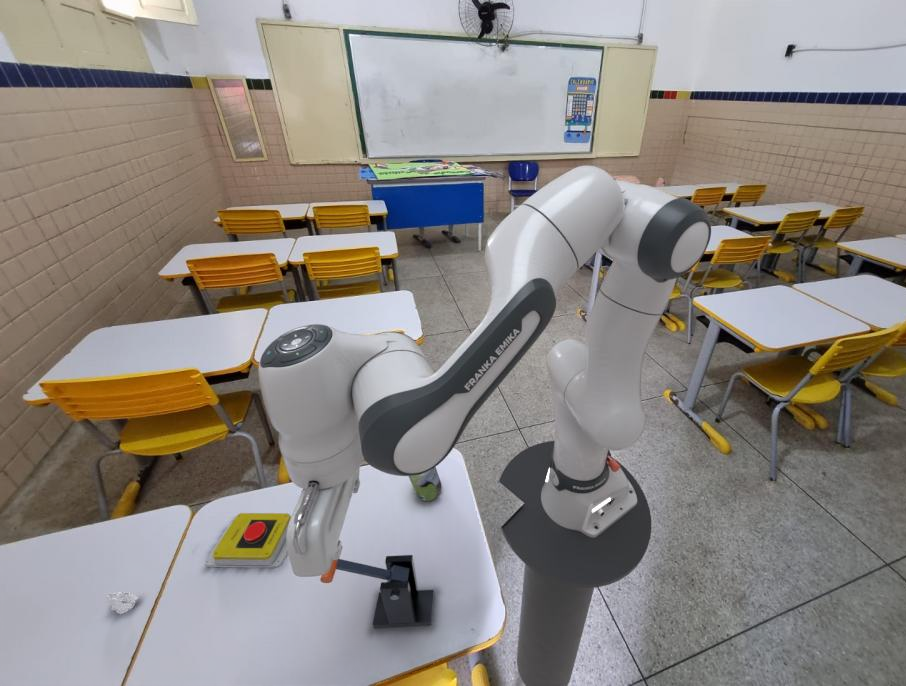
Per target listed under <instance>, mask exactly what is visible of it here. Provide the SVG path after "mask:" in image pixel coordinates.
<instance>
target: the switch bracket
mask: <svg viewBox="0 0 906 686" xmlns="http://www.w3.org/2000/svg"><path fill="white" fill-rule="evenodd" d="M384 563H385V567H386V568H385V569H387V570H391V568H392V567H393V565H396V566H401V567H405V568H409V575H408V581H400V582H387V581H381V582H380V586H379V591H380V592H378V594H377V600H376V604H375V610H374V614H373V615H374V616H373V620H372V628H373V629H383V628H402V627H421V626H432V623H433V622H432V621H433V612H434V600H435V590H434V589H422V590H421V589H419V585H418V580H417V573H416V568H415V562H414V556H413V554H403V555H402V554H401V555H386V556H385V560H384Z"/></svg>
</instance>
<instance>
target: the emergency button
mask: <svg viewBox="0 0 906 686" xmlns="http://www.w3.org/2000/svg"><path fill="white" fill-rule="evenodd" d="M291 516H292V515H291V514H290V513H288V512H287V513H283V512H276V513H275V512H240V513H238V514H237V515H236V516H235V517H234V519H233V520H231V521H230V522H229V523H228V525H227V526H226V528H225V529H224V531H223V532H222V534H221V535H220V537H219V539H218V540H217V542H216V544H215V545H214V546H213V548H212V550H211V552H210V553H209V555H207V558H206V559H205V562H204V564H205V566H206V567H207V568H249V569H250V568H251V569H252V568H255V569H256V568H259V569H261V568H263V569H264V568H265V569H266V568H268V569H269V568H270V569H273V568H274V569H276V568H280V567H281V566H282V565H283V564H284V563H285V561H286V558H287V557H288V555H289V554H288V549H287V542H286V535H287V528H288V524H289V521H290V519H291Z"/></svg>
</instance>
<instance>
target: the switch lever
mask: <svg viewBox="0 0 906 686" xmlns="http://www.w3.org/2000/svg"><path fill="white" fill-rule="evenodd" d="M342 551H343V548H342V549H341V553H342ZM341 553H340V556H339V559H338V560H333V561H332V565H331V568H330V570H329V571H328V572H327V573H325V574H323V575H320V578H319V580H320V582H321V583H323V584H331V583H333V580H334V577H335V573H336V570H338V571H341V572H346V573H352V574H357V575H361V576H367V577H371V578H374V579H380V580H384V581H386V582H400V581H408V575H409V568H405V567H401V566H396V565H393V567H392V568H391V570H387V568H382V567H377V566H373V565H369V564H364V563H359V562H355V561H351V560H345V559H342V558H340V557H341Z"/></svg>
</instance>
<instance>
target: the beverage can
mask: <svg viewBox="0 0 906 686" xmlns="http://www.w3.org/2000/svg"><path fill="white" fill-rule="evenodd" d="M408 478H409V481H410V483H411V485H412V489H413V491H414V493H415V495H416V497H417V498H418V499H419V500H421V501H424V502H428V501H431V500H434V499H436V497H437V496H438V495H439V494H440V493H441V491H442V481H441V478H440V475H439V473H438V469H437V466H436V467H434V468H433V469H431V470H429V471H427V472H425V473H423V474H419V475H414V476H408Z"/></svg>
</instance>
